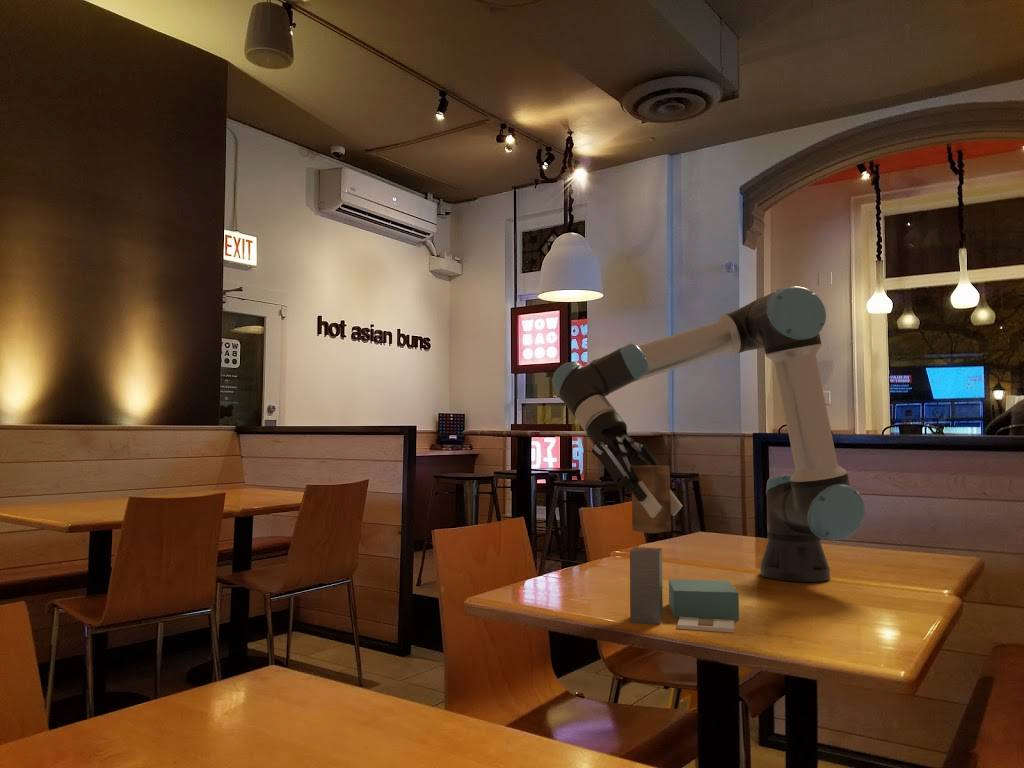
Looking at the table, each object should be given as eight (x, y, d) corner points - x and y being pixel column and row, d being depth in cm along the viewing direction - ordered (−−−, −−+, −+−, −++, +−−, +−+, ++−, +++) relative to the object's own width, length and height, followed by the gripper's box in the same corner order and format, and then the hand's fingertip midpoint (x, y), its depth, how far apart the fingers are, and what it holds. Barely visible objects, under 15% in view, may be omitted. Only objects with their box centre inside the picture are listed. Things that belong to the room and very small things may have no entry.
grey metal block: (662, 617, 132) (662, 548, 133) (660, 624, 127) (659, 552, 128) (634, 615, 133) (633, 547, 134) (630, 622, 128) (629, 551, 129)
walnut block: (650, 528, 143) (649, 465, 144) (671, 531, 139) (669, 465, 140) (632, 530, 140) (631, 466, 141) (653, 533, 136) (651, 466, 137)
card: (734, 624, 127) (733, 619, 127) (734, 632, 122) (734, 627, 122) (679, 620, 130) (679, 615, 130) (677, 628, 124) (677, 623, 124)
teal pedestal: (728, 607, 141) (728, 580, 142) (739, 621, 130) (738, 592, 131) (669, 605, 143) (668, 579, 143) (674, 619, 132) (674, 590, 132)
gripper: (623, 436, 158) (687, 521, 144) (559, 436, 147) (622, 529, 133) (641, 410, 154) (709, 495, 140) (577, 408, 143) (644, 501, 129)
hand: (667, 511), depth 137 cm, fingers closed on walnut block, 5 cm apart
